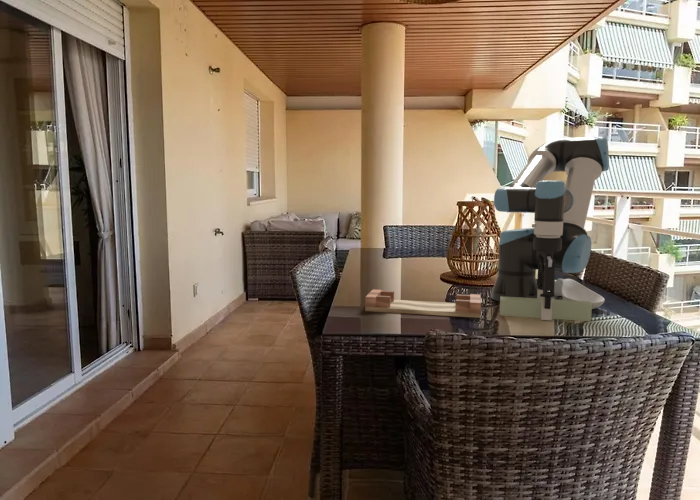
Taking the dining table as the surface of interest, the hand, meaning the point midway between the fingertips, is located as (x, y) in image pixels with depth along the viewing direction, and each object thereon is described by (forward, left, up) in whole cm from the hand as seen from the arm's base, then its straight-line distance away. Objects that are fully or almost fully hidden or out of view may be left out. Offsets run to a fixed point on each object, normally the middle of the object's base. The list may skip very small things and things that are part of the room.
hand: (543, 315), depth 146 cm
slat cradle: (0, -34, 0) cm, 34 cm away
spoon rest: (-20, +11, -1) cm, 23 cm away
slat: (0, 0, -1) cm, 1 cm away
